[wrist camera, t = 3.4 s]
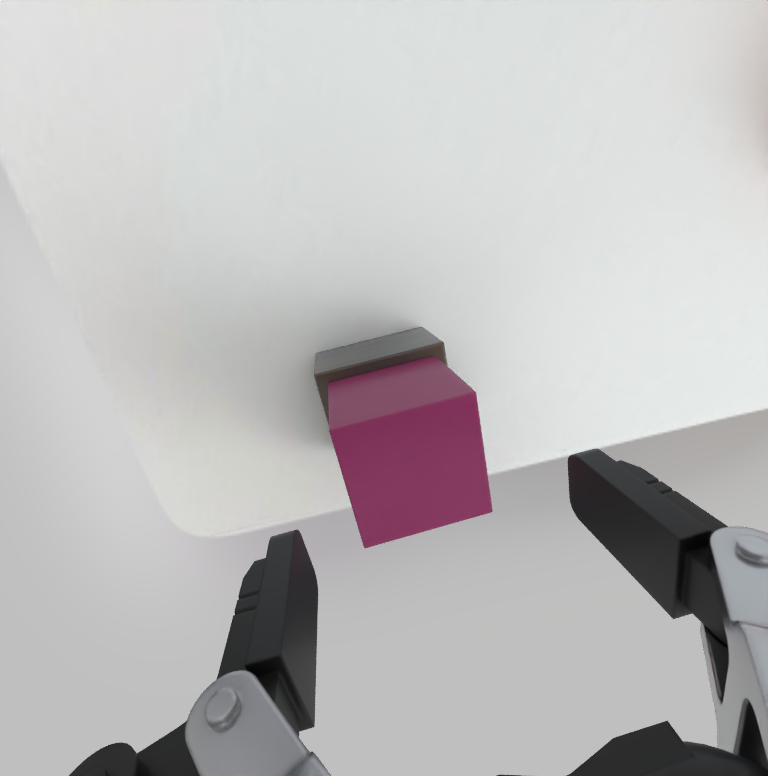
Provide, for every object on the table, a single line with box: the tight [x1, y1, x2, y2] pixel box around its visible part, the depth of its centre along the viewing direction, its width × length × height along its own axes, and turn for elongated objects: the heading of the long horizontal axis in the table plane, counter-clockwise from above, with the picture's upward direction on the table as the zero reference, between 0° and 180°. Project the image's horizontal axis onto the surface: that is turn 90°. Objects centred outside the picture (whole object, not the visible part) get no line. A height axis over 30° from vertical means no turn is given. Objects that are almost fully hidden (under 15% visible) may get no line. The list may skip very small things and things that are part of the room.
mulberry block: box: [328, 356, 492, 548], centre depth 16 cm, size 5×5×5 cm
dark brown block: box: [314, 327, 448, 424], centre depth 20 cm, size 6×6×4 cm
